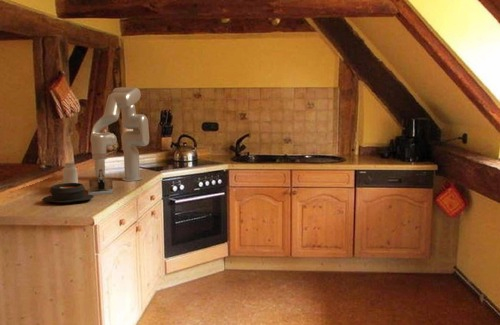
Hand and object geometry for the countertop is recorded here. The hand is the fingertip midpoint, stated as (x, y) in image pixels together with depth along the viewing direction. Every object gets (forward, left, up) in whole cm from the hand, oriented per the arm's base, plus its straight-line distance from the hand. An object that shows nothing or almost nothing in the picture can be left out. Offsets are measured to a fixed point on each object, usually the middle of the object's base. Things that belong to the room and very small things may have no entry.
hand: (101, 187), depth 245 cm
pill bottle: (-19, -16, -3) cm, 25 cm away
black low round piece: (+17, -17, -3) cm, 24 cm away
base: (0, 0, -3) cm, 3 cm away
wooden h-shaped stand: (0, 0, -1) cm, 1 cm away
